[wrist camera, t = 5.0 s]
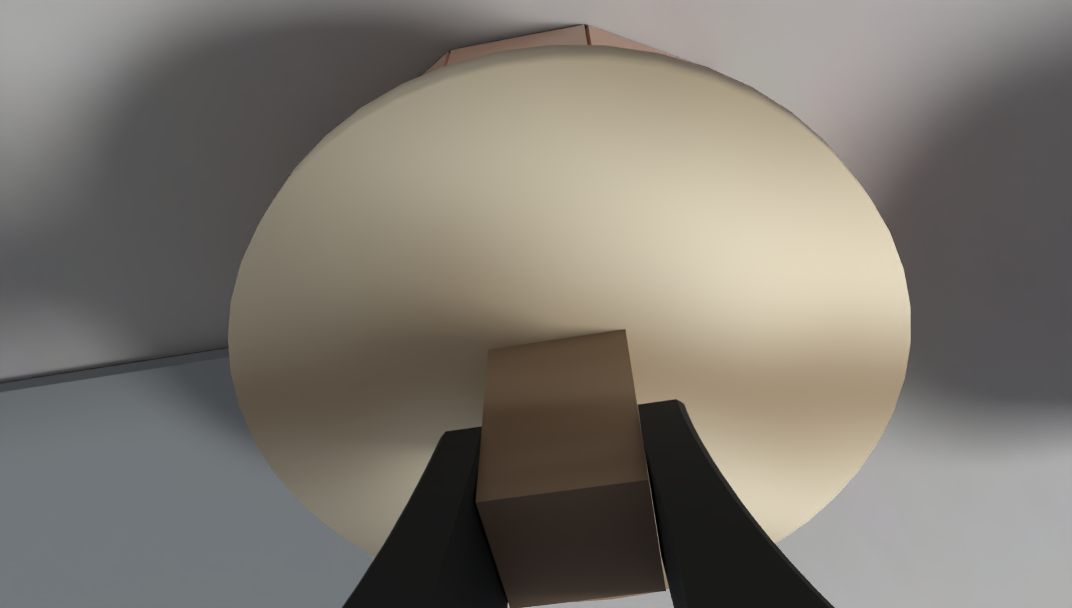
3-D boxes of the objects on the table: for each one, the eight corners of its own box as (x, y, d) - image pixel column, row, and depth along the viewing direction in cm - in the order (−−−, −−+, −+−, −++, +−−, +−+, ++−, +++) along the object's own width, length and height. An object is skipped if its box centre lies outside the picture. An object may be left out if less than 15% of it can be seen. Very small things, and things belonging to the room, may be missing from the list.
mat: (413, 638, 26) (412, 649, 26) (67, 677, 28) (61, 688, 27) (281, 339, 20) (276, 349, 19) (-165, 409, 21) (-176, 419, 21)
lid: (879, 536, 18) (963, 728, 15) (357, 599, 19) (316, 790, 16) (915, -28, 12) (1087, 69, 8) (123, 122, 13) (-37, 264, 9)
